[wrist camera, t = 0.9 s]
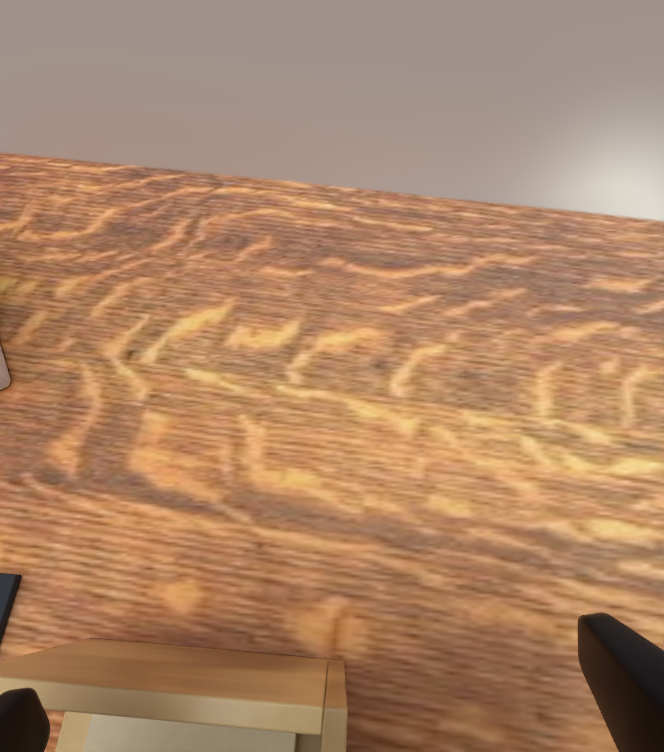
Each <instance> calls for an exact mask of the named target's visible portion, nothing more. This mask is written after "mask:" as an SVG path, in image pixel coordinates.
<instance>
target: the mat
mask: <svg viewBox="0 0 664 752" xmlns="http://www.w3.org/2000/svg"><path fill="white" fill-rule="evenodd" d="M20 578H21V575H15V574H3V573H0V641H1V638H2V635H3V632H4V628H5V625H6V622H7V619H8V616H9V613H10V610H11V606H12V603H13V600H14V597H15V594H16V591H17V588H18V584H19V581H20Z"/></svg>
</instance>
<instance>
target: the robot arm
mask: <svg viewBox="0 0 664 752" xmlns="http://www.w3.org/2000/svg"><path fill="white" fill-rule="evenodd" d="M578 657H579V662H580V666H581V669H582V672H583V674H584V676H585V678H586V681H587V683H588V685H589V687H590V689H591V692H592V694H593V696H594V698H595V700H596V703H597V705H598V707H599V709H600V711H601V714H602V716H603V718H604V720H605V722H606V725H607V727H608V729H609V731H610V733H611V736H612V738H613V740H614V742H615V744H616V746H617V749H618V751H619V752H664V650H662V649H661V648H659V647H658V646H656V645H655V644H653V643H652V642H650V641H649V640H647V639H646V638H644V637H643V636H641V635H639V634H638V633H636V632H635V631H633V630H632V629H630V628H629V627H627V626H626V625H624V624H623V623H621V622H620V621H618V620H617V619H615V618H614V617H612V616H611V615H609V614H606V613H596V614H588V615H582V616H580V617H579V619H578ZM49 734H50V723H49V720H48V717H47V715H46V713H45V710H44V708H43V706H42V704H41V701H40V699H39V697H38V694H37V692H36V691H35V690H34V689H32V688H29V687H28V688H20V689H12V690H8V691H6V692H4V693H2V694H1V695H0V752H44V750H45V748H46V745H47V742H48V739H49Z"/></svg>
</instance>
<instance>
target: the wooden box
mask: <svg viewBox="0 0 664 752" xmlns="http://www.w3.org/2000/svg"><path fill="white" fill-rule="evenodd" d="M28 687H29V688H32V689H34V690H35V691H36V692H37V694H38V697H39V699H40V701H41V704H42V706H43V708H44V709H46V710H57V711H65V714H64V718H63V722H62V726H61V730H60V734H59V738H58V742H57V746H56V750H55V752H83V749H84V744H85V740H86V736H87V732H88V727H89V723H90V719H91V715H92V714H99V715H109V716H120V717H130V718H141V719H151V720H162V721H172V722H183V723H193V724H204V725H215V726H225V727H236V728H246V729H257V730H267V731H278V732H288V733H298V739H297V751H296V752H346V740H347V720H348V706H347V694H346V682H345V669H344V661H343V660H337V659H325V658H314V657H303V656H291V655H280V654H269V653H257V652H246V651H235V650H224V649H212V648H201V647H190V646H178V645H167V644H156V643H145V642H133V641H122V640H111V639H99V638H89V639H85V640H81V641H77V642H73V643H69V644H65V645H62V646H58V647H54V648H50V649H46V650H42V651H38V652H34V653H30V654H27V655H23V656H19V657H15V658H11V659H7V660H3V661H0V695H1V694H2V693H4V692H6V691H8V690H12V689H20V688H28Z"/></svg>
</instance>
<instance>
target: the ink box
mask: <svg viewBox="0 0 664 752" xmlns="http://www.w3.org/2000/svg"><path fill="white" fill-rule="evenodd" d="M10 381H11V379H10V375H9V372H8V369H7V366H6V362H5V359H4V356H3V352H2V349H1V346H0V390H2V389H4V388H6V387H8V386H9V384H10Z"/></svg>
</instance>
